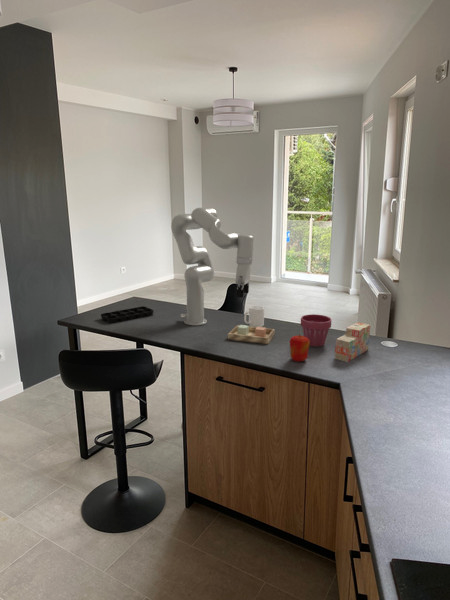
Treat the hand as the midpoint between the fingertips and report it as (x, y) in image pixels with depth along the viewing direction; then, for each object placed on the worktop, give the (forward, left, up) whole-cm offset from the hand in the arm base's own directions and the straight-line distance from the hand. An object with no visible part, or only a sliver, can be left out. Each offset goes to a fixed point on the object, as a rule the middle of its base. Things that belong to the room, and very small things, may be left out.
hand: (242, 294), depth 210 cm
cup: (+1, +19, -22) cm, 29 cm away
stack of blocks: (+54, -8, -22) cm, 59 cm away
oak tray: (+5, 0, -21) cm, 22 cm away
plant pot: (+36, +1, -22) cm, 42 cm away
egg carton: (-71, +10, -22) cm, 75 cm away
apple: (+32, -23, -22) cm, 45 cm away
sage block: (+1, 0, -21) cm, 21 cm away
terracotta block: (+10, 0, -21) cm, 23 cm away
